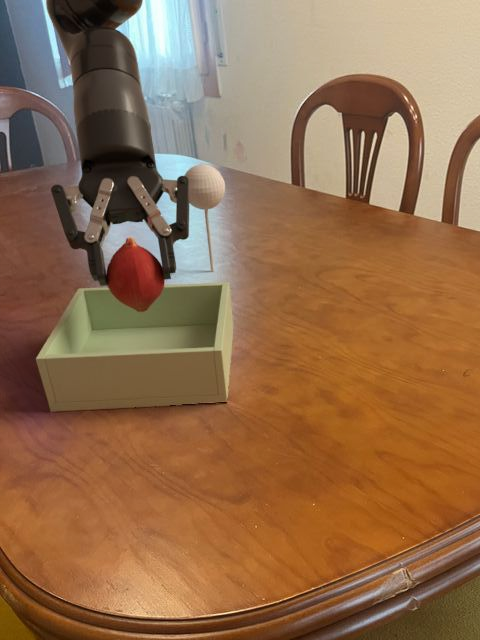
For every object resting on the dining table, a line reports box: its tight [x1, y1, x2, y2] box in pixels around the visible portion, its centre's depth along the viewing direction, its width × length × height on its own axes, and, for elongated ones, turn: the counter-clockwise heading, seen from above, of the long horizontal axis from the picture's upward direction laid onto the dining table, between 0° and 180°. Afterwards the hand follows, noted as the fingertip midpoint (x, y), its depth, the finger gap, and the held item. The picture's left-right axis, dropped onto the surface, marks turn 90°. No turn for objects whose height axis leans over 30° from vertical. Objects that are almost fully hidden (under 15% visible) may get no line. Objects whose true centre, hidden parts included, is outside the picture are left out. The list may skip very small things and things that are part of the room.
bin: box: [35, 281, 234, 413], centre depth 72 cm, size 18×18×6 cm
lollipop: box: [183, 164, 226, 273], centre depth 94 cm, size 6×6×15 cm
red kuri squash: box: [106, 236, 166, 312], centre depth 68 cm, size 6×6×8 cm
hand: (135, 278), depth 66 cm, fingers closed on red kuri squash, 5 cm apart
